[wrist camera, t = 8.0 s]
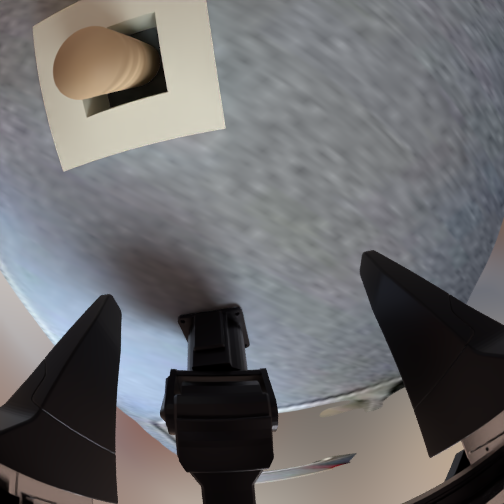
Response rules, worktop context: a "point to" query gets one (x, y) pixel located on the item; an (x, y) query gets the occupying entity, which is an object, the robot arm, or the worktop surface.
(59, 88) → the peg
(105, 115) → the socket
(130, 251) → the worktop surface
